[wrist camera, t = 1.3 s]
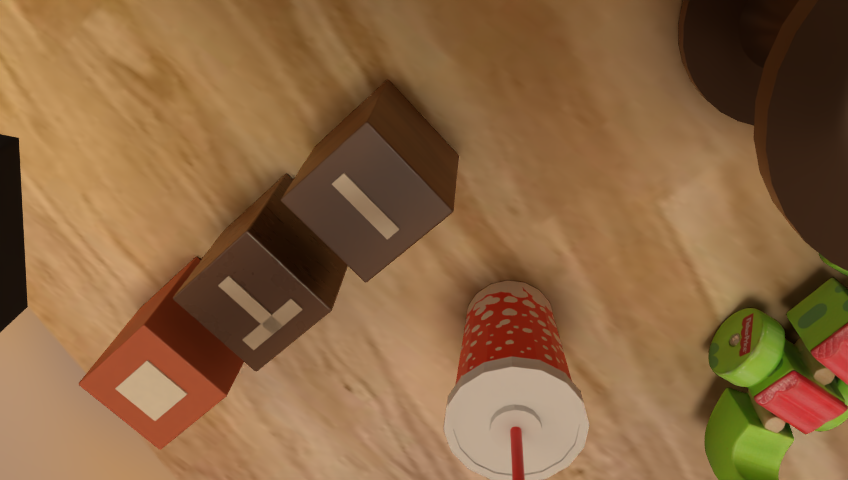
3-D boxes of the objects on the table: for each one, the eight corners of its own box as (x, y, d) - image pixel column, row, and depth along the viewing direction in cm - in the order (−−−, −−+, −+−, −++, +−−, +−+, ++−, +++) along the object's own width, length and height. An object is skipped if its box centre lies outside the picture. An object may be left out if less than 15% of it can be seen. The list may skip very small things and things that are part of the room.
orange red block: (138, 309, 42) (76, 385, 35) (196, 255, 40) (142, 325, 34) (207, 368, 43) (159, 452, 37) (266, 318, 42) (226, 397, 35)
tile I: (314, 147, 37) (278, 201, 31) (388, 78, 36) (366, 121, 29) (385, 218, 39) (365, 285, 32) (459, 155, 37) (454, 212, 30)
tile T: (221, 233, 40) (170, 300, 33) (286, 172, 38) (246, 231, 31) (291, 297, 41) (255, 374, 34) (357, 242, 39) (332, 311, 33)
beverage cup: (446, 270, 40) (428, 451, 27) (567, 264, 39) (606, 446, 26) (456, 369, 42) (444, 578, 29) (569, 364, 41) (606, 576, 29)
